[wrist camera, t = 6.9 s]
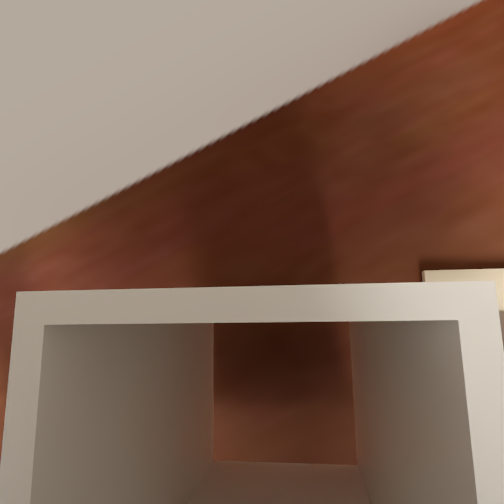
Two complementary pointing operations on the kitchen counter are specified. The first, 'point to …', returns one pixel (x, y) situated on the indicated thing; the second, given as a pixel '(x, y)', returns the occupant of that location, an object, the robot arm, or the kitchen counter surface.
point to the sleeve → (201, 396)
